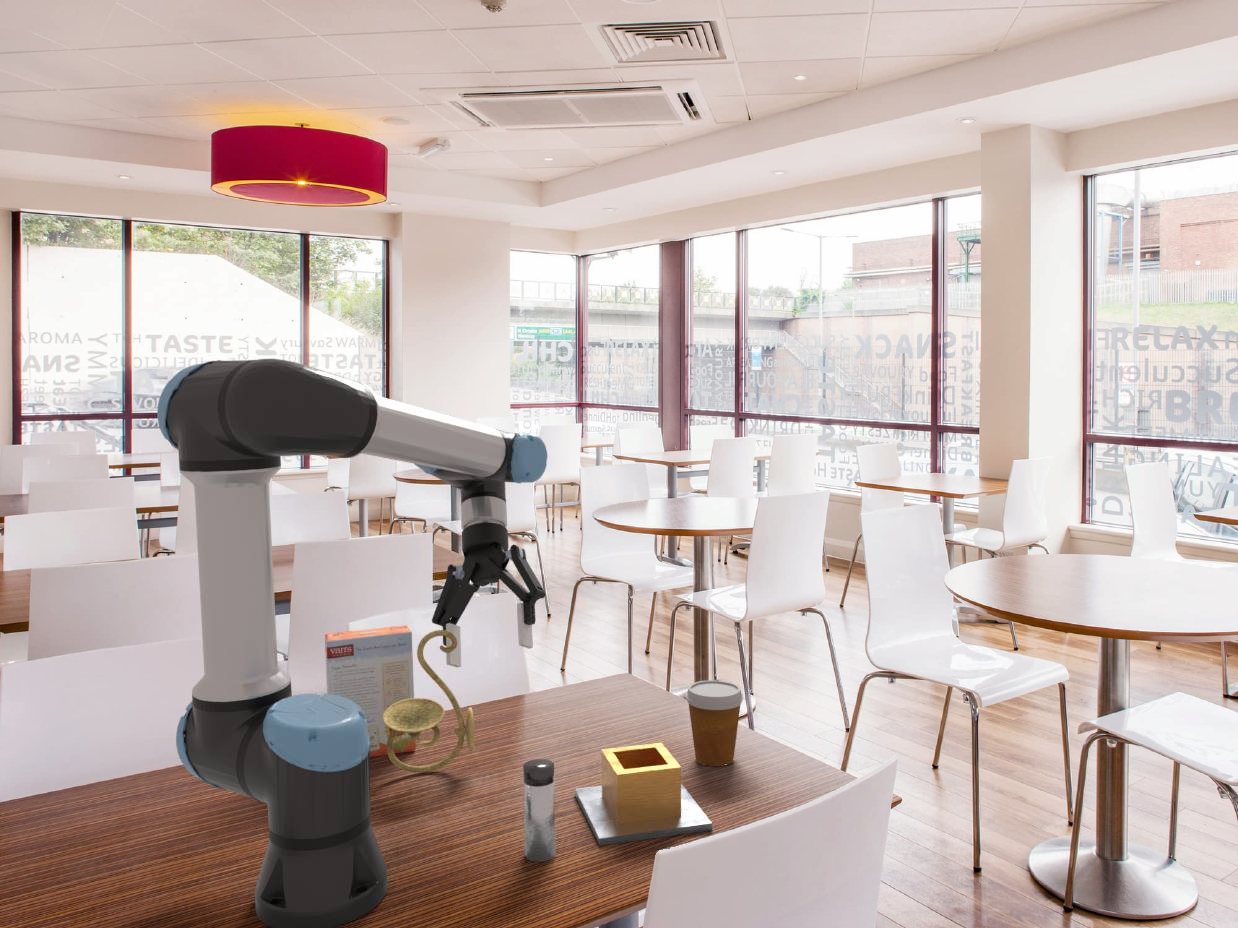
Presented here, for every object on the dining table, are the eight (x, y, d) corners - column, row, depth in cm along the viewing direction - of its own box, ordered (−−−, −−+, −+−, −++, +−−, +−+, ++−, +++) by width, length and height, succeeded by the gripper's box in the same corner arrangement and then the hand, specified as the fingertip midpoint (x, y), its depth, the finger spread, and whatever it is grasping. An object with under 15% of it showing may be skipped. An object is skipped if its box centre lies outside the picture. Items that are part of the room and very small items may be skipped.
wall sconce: (469, 748, 150) (469, 613, 143) (475, 783, 142) (476, 641, 134) (383, 757, 147) (380, 620, 139) (385, 794, 138) (381, 649, 131)
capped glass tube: (527, 863, 115) (525, 772, 114) (522, 848, 119) (521, 760, 118) (558, 859, 116) (556, 769, 115) (552, 844, 120) (551, 757, 119)
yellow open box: (599, 845, 119) (598, 787, 119) (575, 794, 135) (574, 743, 134) (712, 829, 123) (711, 773, 123) (676, 782, 139) (675, 732, 138)
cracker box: (411, 739, 158) (408, 623, 156) (416, 751, 152) (413, 631, 151) (328, 751, 153) (324, 631, 151) (330, 764, 147) (326, 640, 146)
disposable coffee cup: (681, 768, 144) (680, 695, 144) (690, 745, 154) (690, 677, 153) (740, 773, 142) (740, 699, 141) (746, 750, 151) (746, 681, 150)
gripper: (560, 515, 145) (570, 642, 136) (439, 555, 155) (440, 676, 145) (535, 500, 139) (543, 632, 130) (410, 543, 149) (409, 668, 139)
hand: (489, 656), depth 137 cm, fingers open, 13 cm apart
